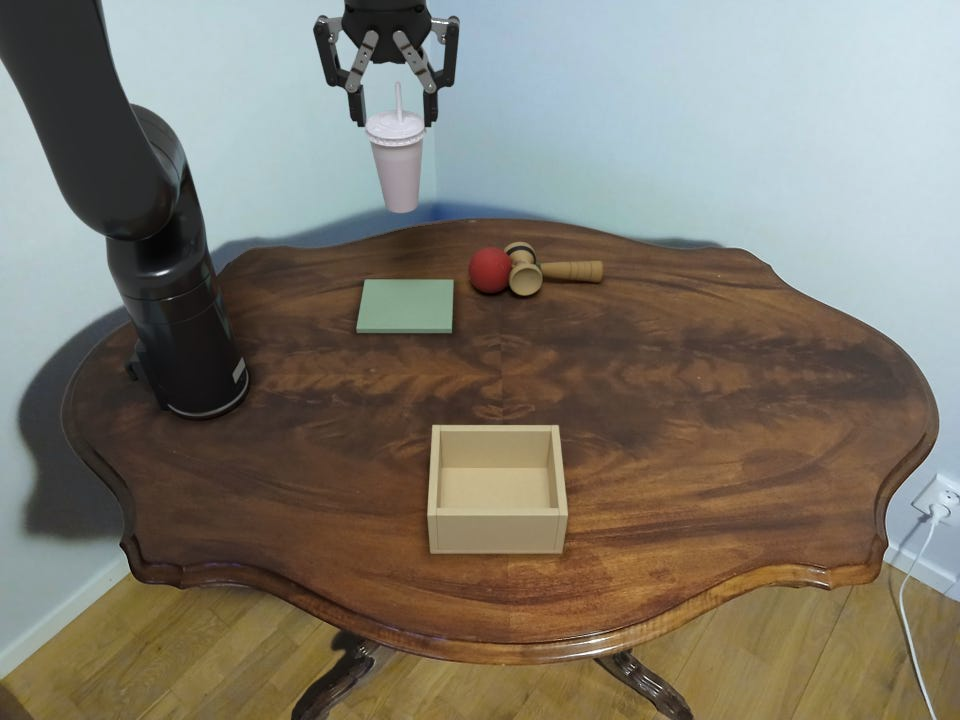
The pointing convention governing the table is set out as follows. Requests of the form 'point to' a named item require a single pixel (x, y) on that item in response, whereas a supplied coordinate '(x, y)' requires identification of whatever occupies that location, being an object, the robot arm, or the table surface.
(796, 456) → the table surface
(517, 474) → the bin
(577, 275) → the kendama
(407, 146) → the smoothie
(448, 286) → the mat
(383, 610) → the table surface
